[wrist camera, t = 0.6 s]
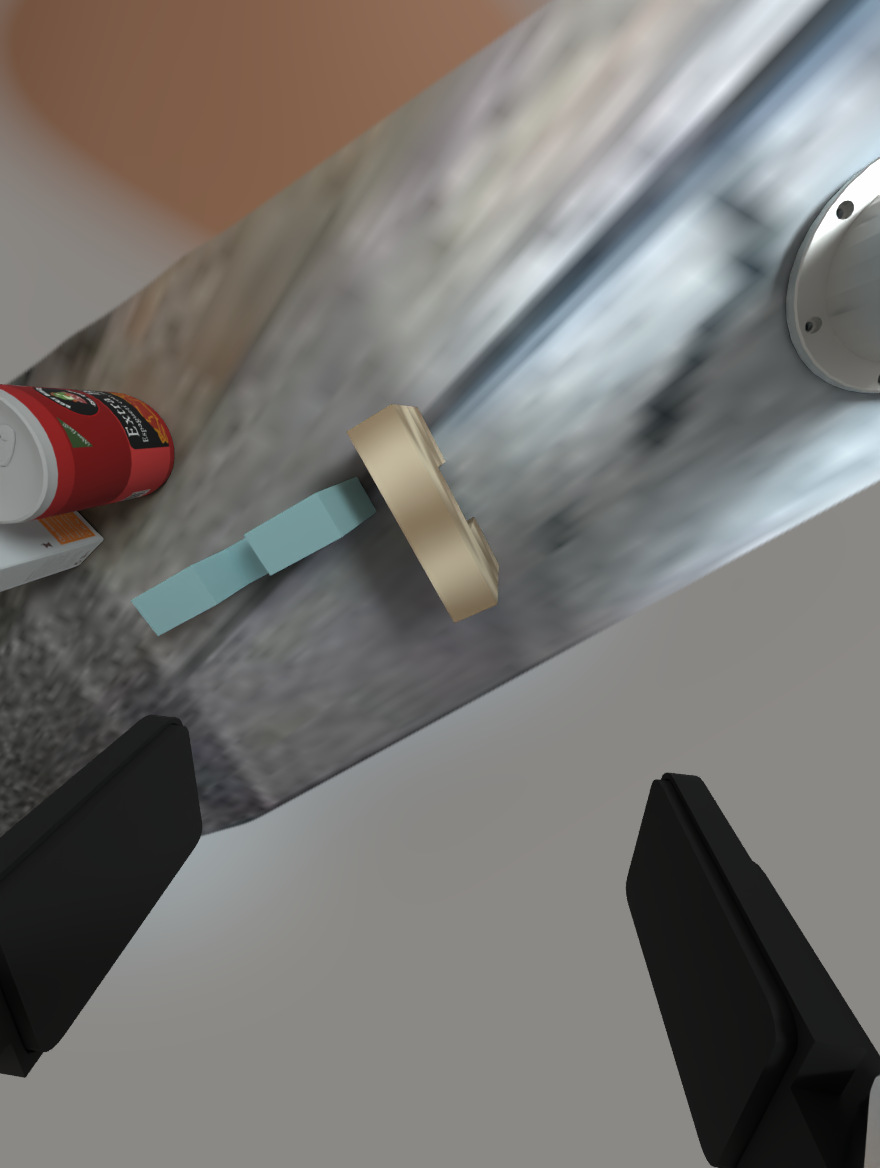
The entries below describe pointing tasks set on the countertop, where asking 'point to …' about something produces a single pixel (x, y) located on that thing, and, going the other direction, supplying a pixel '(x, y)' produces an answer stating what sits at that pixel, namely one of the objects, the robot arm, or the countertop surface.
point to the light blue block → (256, 555)
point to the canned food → (76, 451)
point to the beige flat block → (428, 509)
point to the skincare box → (44, 547)
